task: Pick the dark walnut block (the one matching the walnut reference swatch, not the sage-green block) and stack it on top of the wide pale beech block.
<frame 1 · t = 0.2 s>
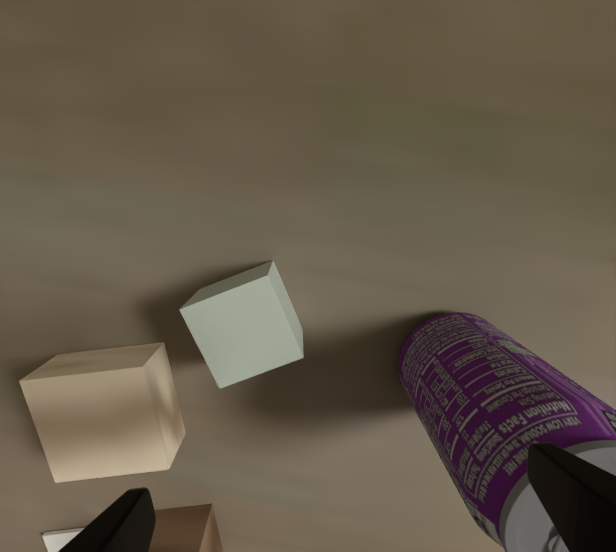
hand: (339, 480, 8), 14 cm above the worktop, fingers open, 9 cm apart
beverage can: (445, 356, 24), on the worktop
sage block: (252, 309, 22), on the worktop
beech base: (126, 393, 24), on the worktop
walnut block: (188, 530, 26), on the worktop
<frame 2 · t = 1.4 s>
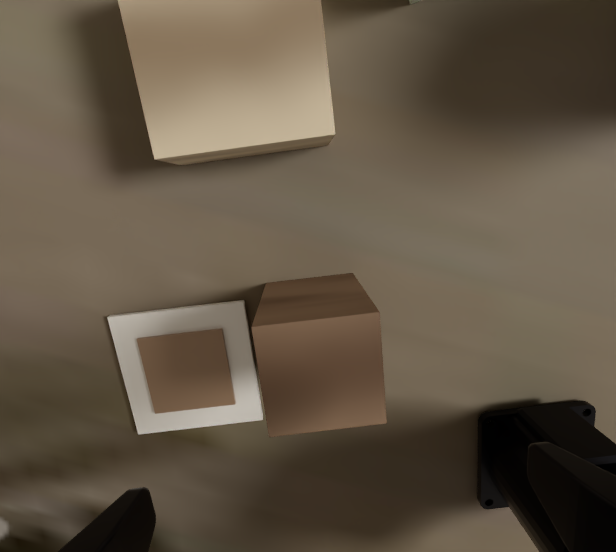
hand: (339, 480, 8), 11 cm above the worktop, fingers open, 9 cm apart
reference swatch: (190, 368, 19), on the worktop
beech base: (242, 75, 16), on the worktop
walnut block: (314, 318, 18), on the worktop
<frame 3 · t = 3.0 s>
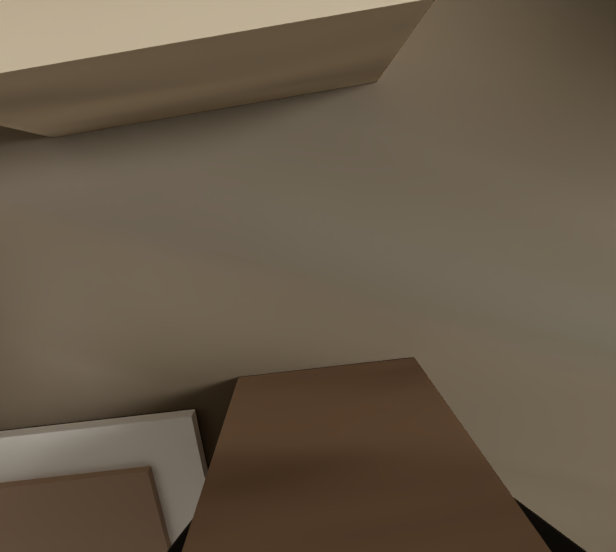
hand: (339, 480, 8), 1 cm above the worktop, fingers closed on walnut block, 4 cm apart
reference swatch: (94, 531, 10), on the worktop
walnut block: (334, 442, 9), on the worktop, touching gripper
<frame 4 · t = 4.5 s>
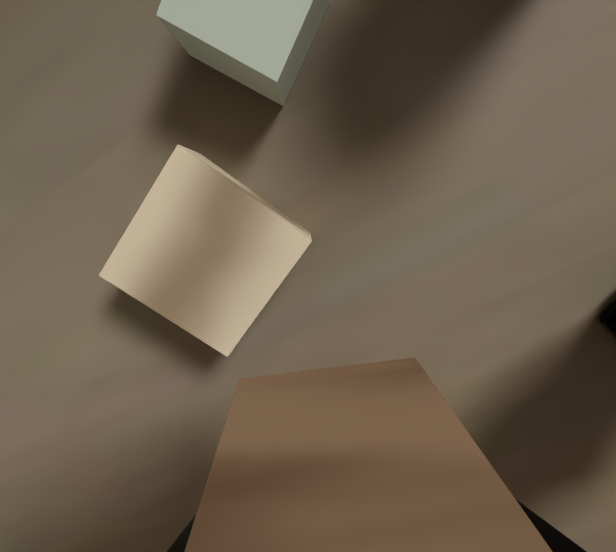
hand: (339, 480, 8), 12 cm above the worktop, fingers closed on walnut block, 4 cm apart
sage block: (259, 30, 17), on the worktop
beech base: (222, 246, 19), on the worktop
walnut block: (335, 443, 9), point 11 cm above the worktop, touching gripper
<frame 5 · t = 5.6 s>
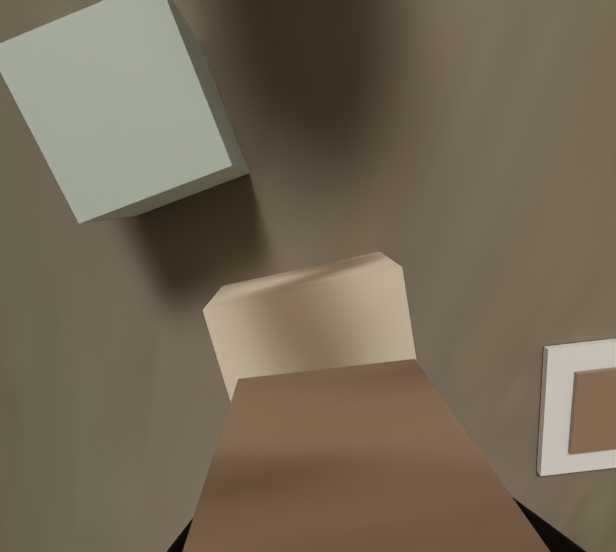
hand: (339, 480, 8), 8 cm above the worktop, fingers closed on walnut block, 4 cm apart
reference swatch: (610, 404, 17), on the worktop
sage block: (167, 133, 14), on the worktop
beech base: (316, 339, 16), on the worktop
walnut block: (334, 444, 9), point 7 cm above the worktop, touching gripper
when the fingers open (6 cm above the worktop, at t = 6.3 s): walnut block drops 1 cm, resting on beech base.
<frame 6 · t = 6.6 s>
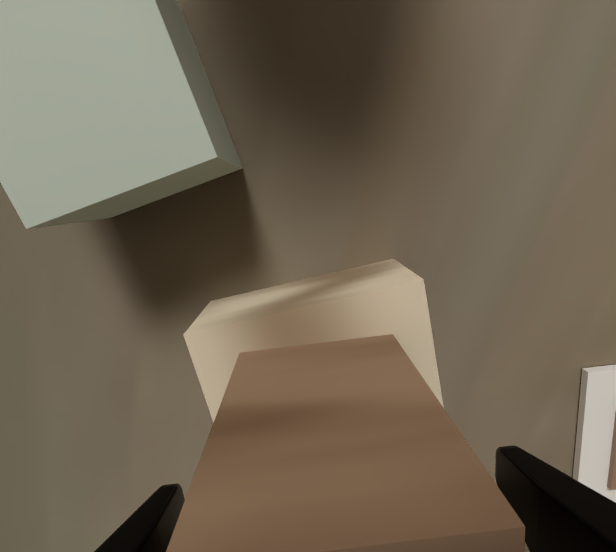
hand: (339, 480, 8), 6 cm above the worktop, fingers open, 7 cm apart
sage block: (145, 121, 12), on the worktop
beech base: (321, 359, 14), on the worktop, touching walnut block
walnut block: (324, 411, 11), point 3 cm above the worktop, touching beech base
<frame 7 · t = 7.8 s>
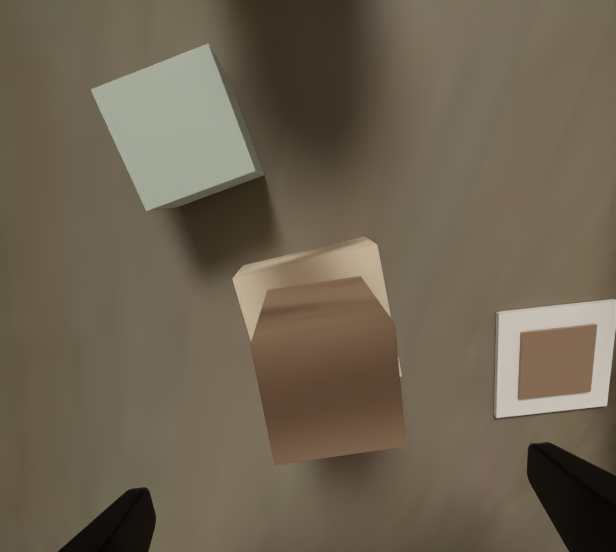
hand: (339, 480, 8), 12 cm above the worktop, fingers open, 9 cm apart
reference swatch: (551, 359, 21), on the worktop
sage block: (202, 144, 18), on the worktop
beech base: (317, 306, 20), on the worktop
walnut block: (320, 326, 17), point 3 cm above the worktop
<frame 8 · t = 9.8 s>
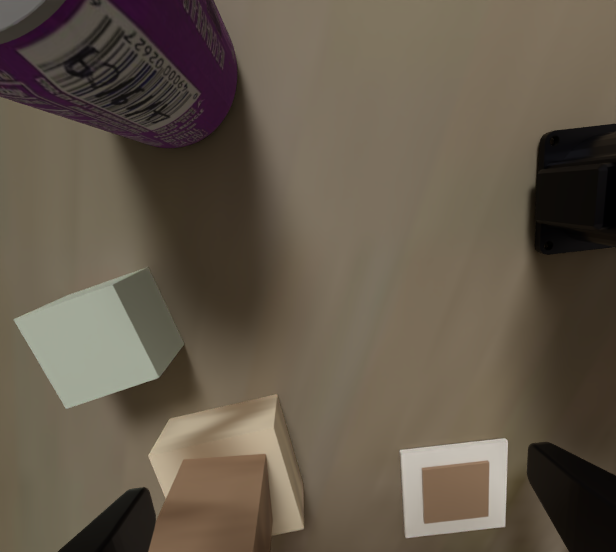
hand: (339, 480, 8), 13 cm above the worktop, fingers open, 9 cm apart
reference swatch: (453, 487, 24), on the worktop
beverage can: (170, 76, 17), on the worktop
sage block: (128, 319, 20), on the worktop
beech base: (239, 448, 23), on the worktop, touching walnut block
walnut block: (229, 490, 19), point 3 cm above the worktop, touching beech base
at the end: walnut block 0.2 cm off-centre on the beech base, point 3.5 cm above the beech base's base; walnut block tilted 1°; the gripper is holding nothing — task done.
